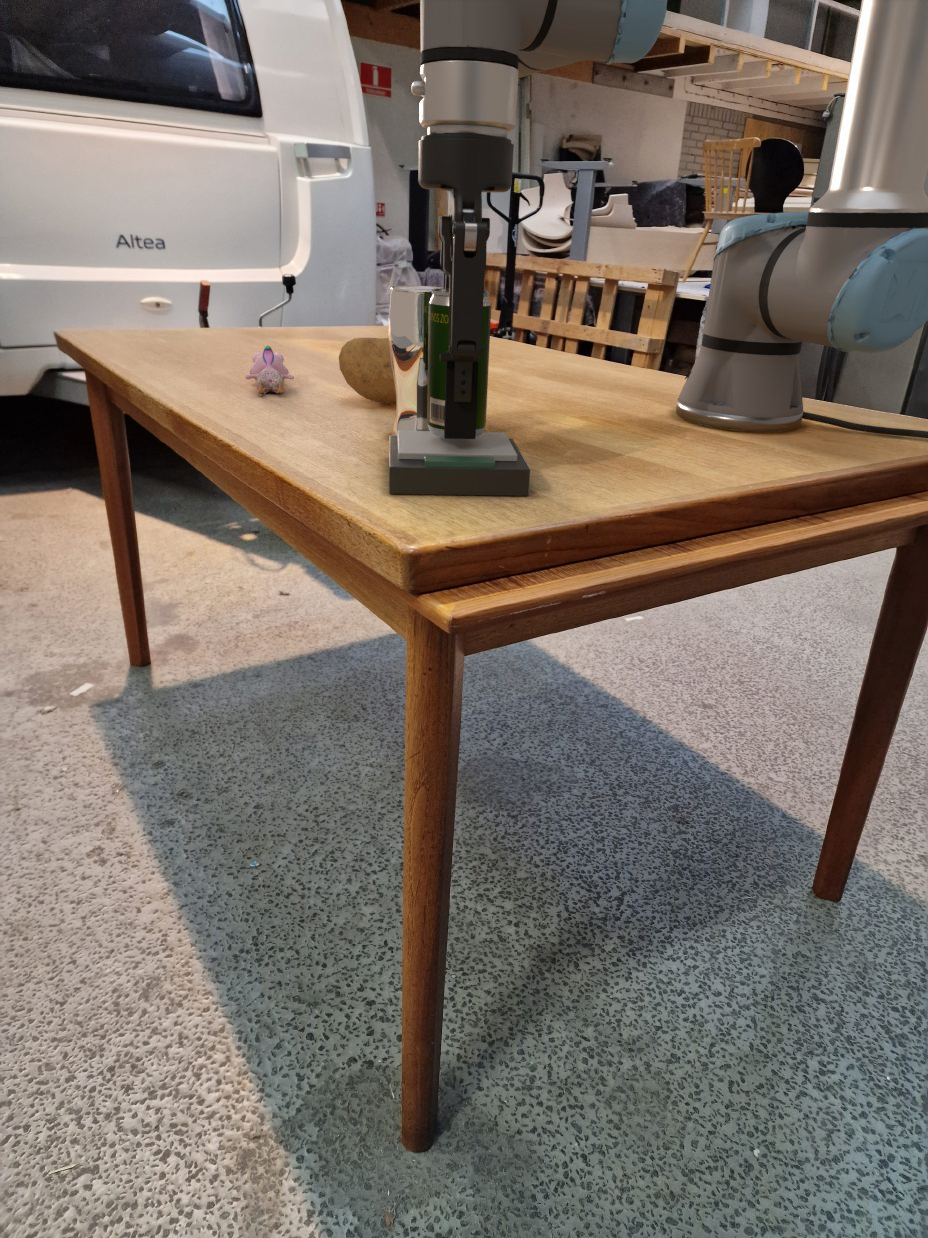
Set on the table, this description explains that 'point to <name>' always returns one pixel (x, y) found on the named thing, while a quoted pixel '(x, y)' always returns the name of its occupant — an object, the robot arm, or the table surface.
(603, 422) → the table surface
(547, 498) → the table surface
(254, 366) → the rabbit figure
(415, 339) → the beer glass
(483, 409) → the beer can
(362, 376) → the potato
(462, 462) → the scale
